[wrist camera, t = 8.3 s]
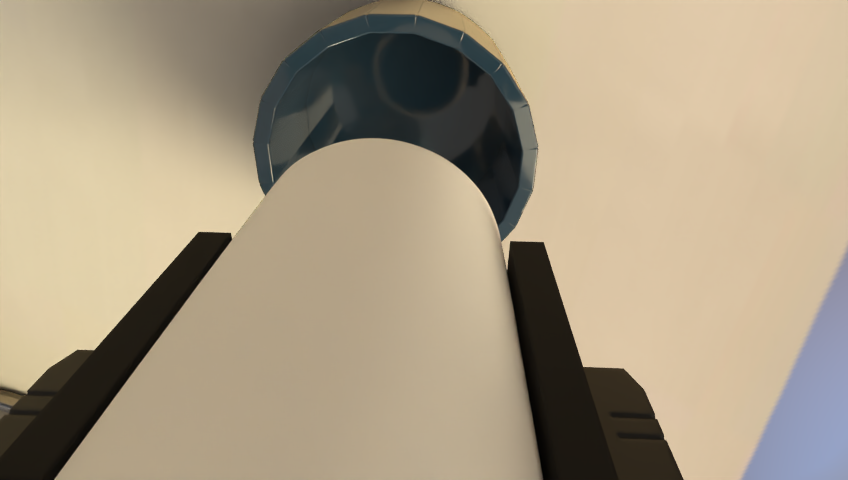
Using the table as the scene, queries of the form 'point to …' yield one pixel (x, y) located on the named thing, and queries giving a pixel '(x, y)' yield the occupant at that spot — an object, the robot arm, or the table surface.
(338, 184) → the can
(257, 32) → the table surface
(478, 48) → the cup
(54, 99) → the table surface
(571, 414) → the robot arm
